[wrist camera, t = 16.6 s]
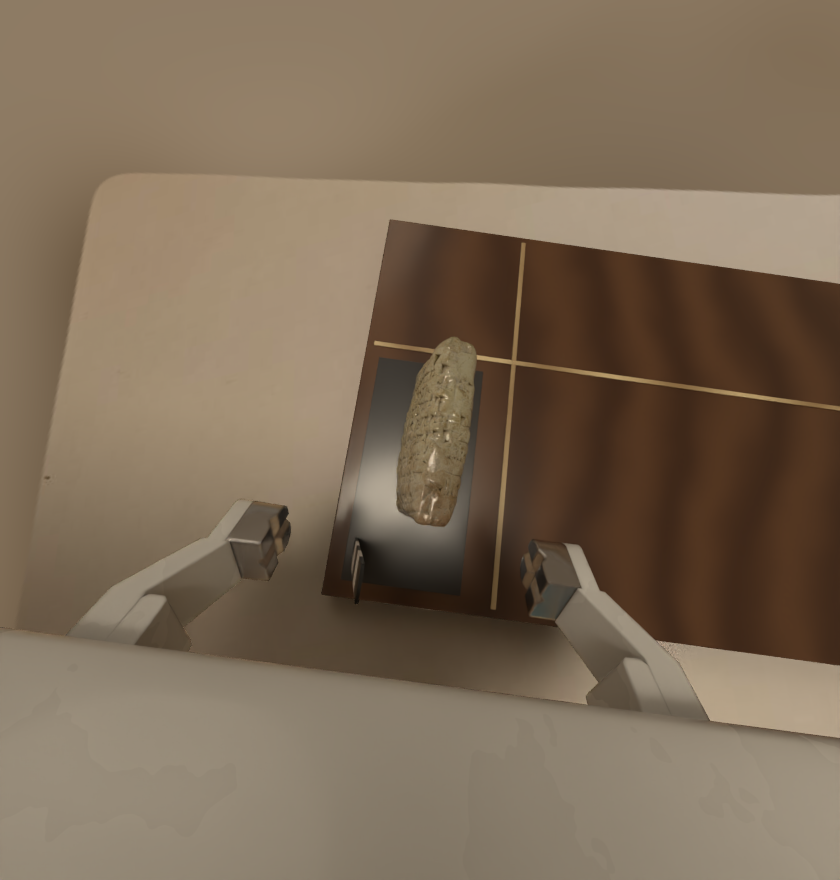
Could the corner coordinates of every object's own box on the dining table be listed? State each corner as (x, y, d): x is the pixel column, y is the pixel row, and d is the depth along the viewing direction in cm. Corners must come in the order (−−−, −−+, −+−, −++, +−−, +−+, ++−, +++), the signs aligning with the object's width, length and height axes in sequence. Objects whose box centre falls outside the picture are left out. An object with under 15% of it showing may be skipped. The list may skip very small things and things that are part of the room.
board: (327, 588, 20) (319, 595, 18) (390, 235, 25) (389, 216, 23) (987, 678, 20) (1040, 694, 19) (917, 310, 25) (953, 297, 24)
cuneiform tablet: (350, 562, 19) (383, 370, 21) (424, 569, 20) (448, 384, 22) (354, 603, 12) (402, 312, 14) (467, 612, 13) (495, 336, 15)
